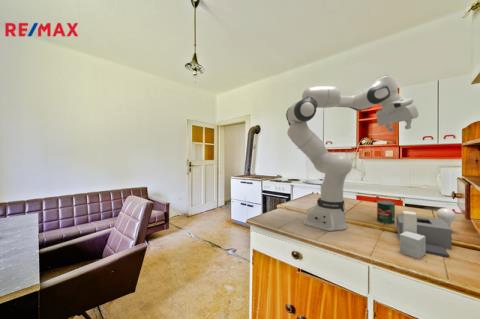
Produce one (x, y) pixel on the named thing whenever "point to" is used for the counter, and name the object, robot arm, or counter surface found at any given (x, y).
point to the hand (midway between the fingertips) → (399, 130)
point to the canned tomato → (386, 212)
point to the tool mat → (436, 250)
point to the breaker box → (430, 230)
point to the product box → (412, 244)
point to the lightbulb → (446, 215)
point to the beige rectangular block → (409, 222)
